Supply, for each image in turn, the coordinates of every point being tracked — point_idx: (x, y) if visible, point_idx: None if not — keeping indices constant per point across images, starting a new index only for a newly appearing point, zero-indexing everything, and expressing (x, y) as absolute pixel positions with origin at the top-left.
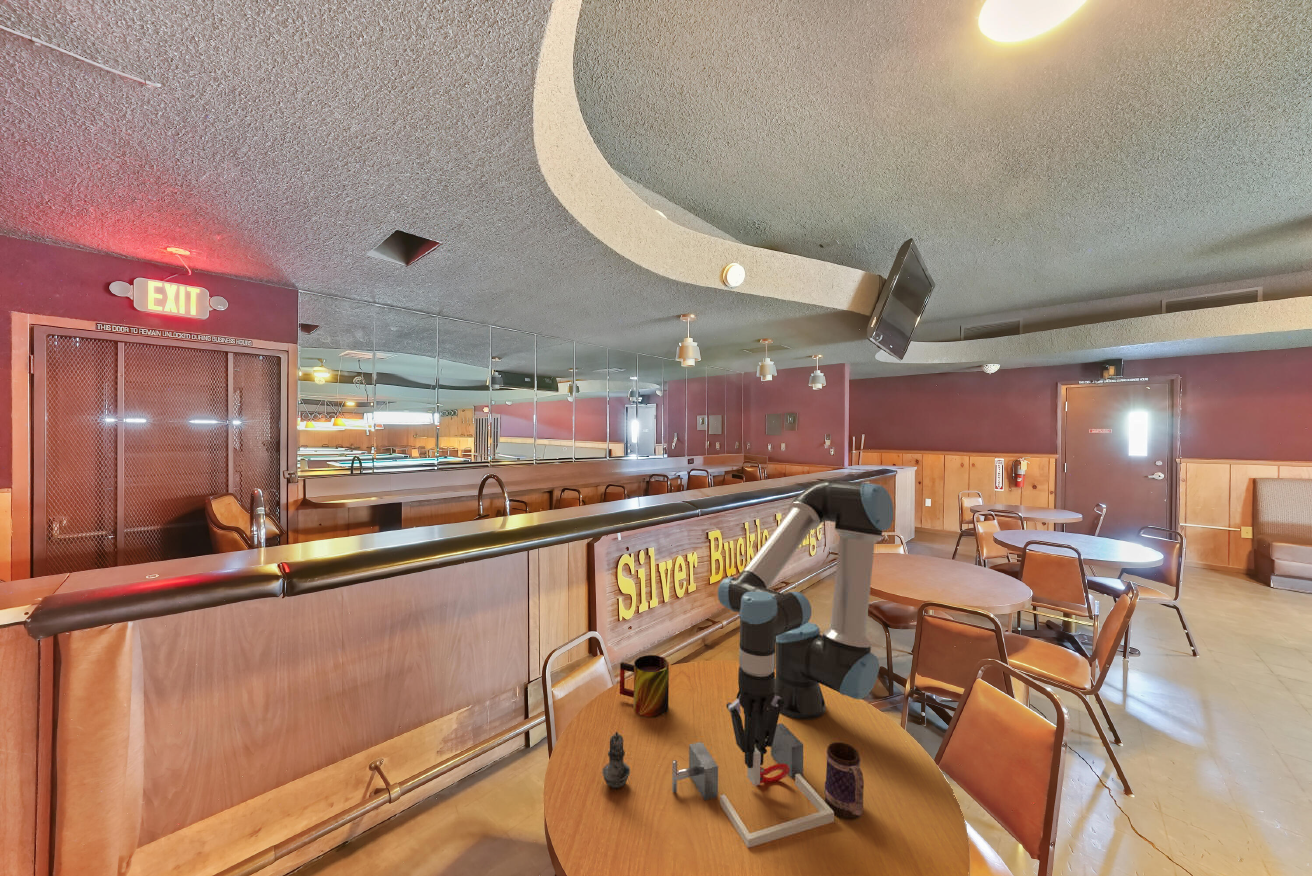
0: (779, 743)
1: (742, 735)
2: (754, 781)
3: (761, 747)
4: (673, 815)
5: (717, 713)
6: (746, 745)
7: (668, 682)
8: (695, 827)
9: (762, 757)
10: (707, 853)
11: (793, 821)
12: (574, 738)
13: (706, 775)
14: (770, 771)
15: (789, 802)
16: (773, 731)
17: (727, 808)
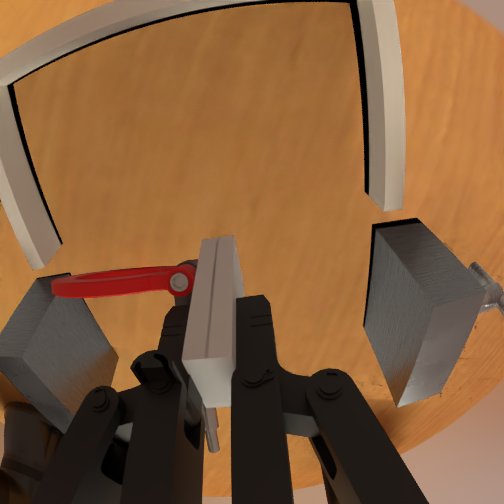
0: (78, 382)
1: (384, 495)
2: (231, 245)
3: (170, 394)
4: (497, 197)
5: (226, 450)
6: (319, 418)
7: (333, 499)
8: (474, 139)
9: (166, 338)
10: (474, 46)
11: (128, 9)
12: (497, 382)
13: (464, 275)
14: (136, 276)
15: (98, 173)
16: (59, 475)
17: (402, 143)
